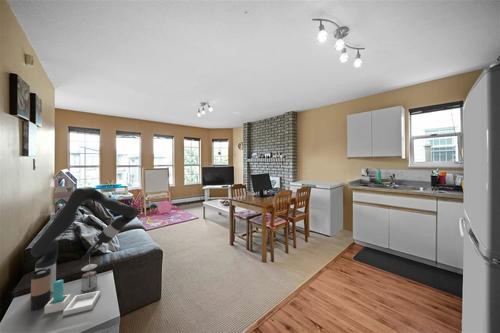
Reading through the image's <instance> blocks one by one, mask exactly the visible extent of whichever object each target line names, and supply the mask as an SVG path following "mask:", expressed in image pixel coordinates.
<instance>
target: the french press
mask: <svg viewBox="0 0 500 333" xmlns="http://www.w3.org/2000/svg"><path fill="white" fill-rule="evenodd" d="M88 258H89V260H88V261H89V264H87V265H85V266H83V267H82V268H81V269H80V270H81V271H82V272H85V273H83V274H82V275H81V279H80V280H81V282H80V283H81V291H84V292H85V291H86V292H87V291H90V290H93V289H94V288H96V287H97V286H98V273H97V271H96V270H94V269H96V268H97V267H98V264H95V263H91V255H90V256H89V257H88Z"/></svg>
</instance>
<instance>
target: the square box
mask: <svg viewBox="0 0 500 333" xmlns="http://www.w3.org/2000/svg"><path fill="white" fill-rule="evenodd" d="M71 301H72V293H69V294H65V295H64V294H63V302H59V303H54V304H53V297H52V298H50V301H49V302H48V303H47V304H46V305H45V307H44V315H47V314H52V313H57V312H61V311H64V309H65V308H66V307H67V306H68V304H69V303H70V302H71Z"/></svg>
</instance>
